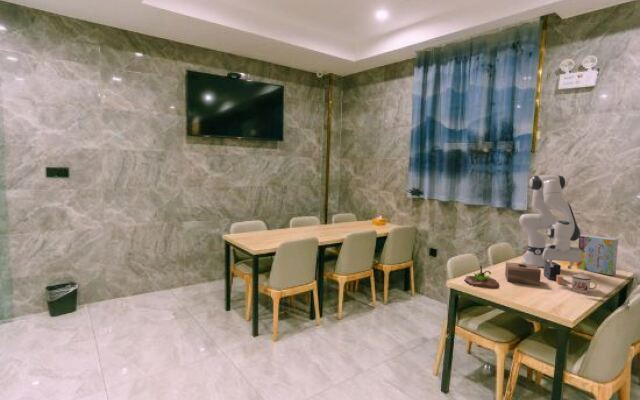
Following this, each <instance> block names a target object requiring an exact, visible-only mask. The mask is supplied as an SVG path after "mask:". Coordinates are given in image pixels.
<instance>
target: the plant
mask: <svg viewBox="0 0 640 400" xmlns="http://www.w3.org/2000/svg"><path fill="white" fill-rule="evenodd" d="M479 269H480V270H479V272H477V273H475V272H473V275H467V276H466V277H465V279H464V282H466V284H468V283H469V284H468V286H471V285H473V286H472V287H476V286H477V287H478V288H486V289H487V288H488V289H499V286H500V283H499V282H498V281H497V280H496V279H494V278H492V277H491V276H490V275H491V274H492V272H491V271H489V270H486V271H484V272H483V266H482V265H480V266H479ZM486 273H488V274H489V275H487V274H486ZM477 287H476V288H477Z"/></svg>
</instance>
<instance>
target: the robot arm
mask: <svg viewBox="0 0 640 400" xmlns="http://www.w3.org/2000/svg"><path fill="white" fill-rule="evenodd" d="M529 179H530V180H529V184H528V185H529V187H530V189H531V190H533V192H532V200H531V206H532V208H533V209H534V210H537V211H539V213H523V214H521V215H520V216H519V218H518V223H519V225H520V226H521V227H522V228H524V229H525V231H526V233H527V236H528V245H527V251H526V252H525V253H523V254H522V255H523V256H522V257H523V258H522V260H521V264H530V265H537V266H538V267H541V268H544V262H545V261H548V262H550V264H551V267H554V264H552V263H551V262H553V261H557V262H559V261H560V262H569V263H570V264H569V265H567V269H568V270H571V269H572V266H573V265H574V263H579V262H581V255H580V254H581V249H580V250H579V248H578V247H573V246H572V242H575V241H577V240H579V237H580V236H581V229H580V228H579V226H578V223H577V221H576V219H575V215H574V211H573V209H572V207H571V204H570V203H569V202H567V201H566V199H565V198H564V195H563V189H564V188H565V186H566V179H565V177H564V176H563V175H554V174H553V175H552V174H551V175H550V174H543V175H542V174H541V175H532V176H531V177H530V178H529ZM550 208H551V209H554V210H556V211H558V212H561V213H562V214H563V216H564V218H565V220H559V218H558V216H556V215H555V214H553V212H552V211H551V209H550ZM538 229H541V230H546V236H547V237H548V238H550V239H552V240H554V241H553V242H550V243H546V241H547V239H546V236H545V234H542V233H540V232H539V231H538Z"/></svg>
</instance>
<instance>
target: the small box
mask: <svg viewBox="0 0 640 400" xmlns="http://www.w3.org/2000/svg"><path fill="white" fill-rule="evenodd" d="M551 263H552V264H554V267H551V264H550V262H549V260H548V261H545V262H544V267H543V275H544V277H545V278H547V280H548V281H556V277H557V275H561V267H562V266H561V264H559V263H557V262H555V261H552V262H551Z"/></svg>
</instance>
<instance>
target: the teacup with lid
mask: <svg viewBox="0 0 640 400" xmlns="http://www.w3.org/2000/svg"><path fill="white" fill-rule="evenodd" d="M571 277H572V278H571V279H572V281H571V284H572V285H571V290H572V292H576V293H578V294H590V290H595V289H596V288H597V286H598V284H597V282H595V281H594V280H591V279H592V277H591V276H588V275H587V274H585V272H583V271H580V272H579V273H574V274H573V275H572V276H571ZM591 283H593V284H594V285H595V286H594V287H591Z"/></svg>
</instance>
